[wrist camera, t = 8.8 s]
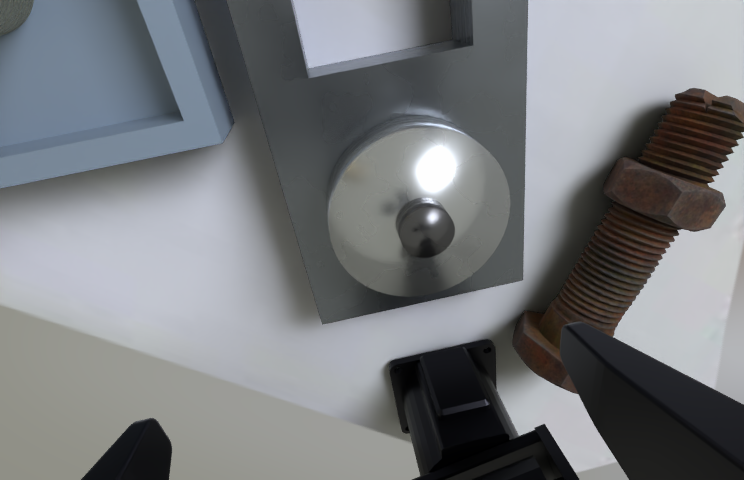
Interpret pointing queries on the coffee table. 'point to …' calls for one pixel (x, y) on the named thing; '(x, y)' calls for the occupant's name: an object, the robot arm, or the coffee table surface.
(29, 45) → the tray
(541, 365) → the bolt
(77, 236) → the coffee table surface
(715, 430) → the robot arm
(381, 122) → the block
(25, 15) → the pin
